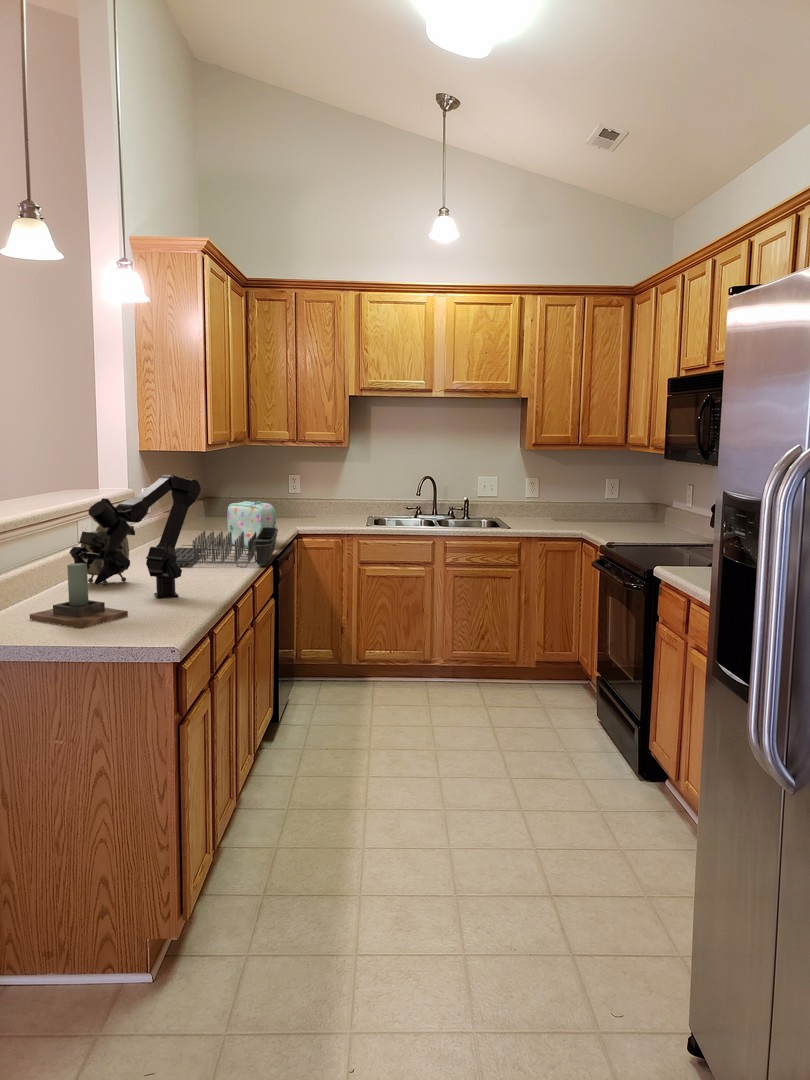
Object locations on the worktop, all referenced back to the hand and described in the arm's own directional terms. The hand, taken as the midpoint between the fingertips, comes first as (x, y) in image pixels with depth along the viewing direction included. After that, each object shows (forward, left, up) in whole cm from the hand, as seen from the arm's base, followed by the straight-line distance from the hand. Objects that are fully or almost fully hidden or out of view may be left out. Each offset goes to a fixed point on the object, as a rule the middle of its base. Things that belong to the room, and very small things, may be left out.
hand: (84, 582), depth 215 cm
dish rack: (-78, +57, -10) cm, 97 cm away
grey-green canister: (+1, -2, -8) cm, 8 cm away
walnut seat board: (+1, -2, -10) cm, 10 cm away
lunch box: (-109, +80, -10) cm, 135 cm away
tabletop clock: (-46, +10, -10) cm, 48 cm away
